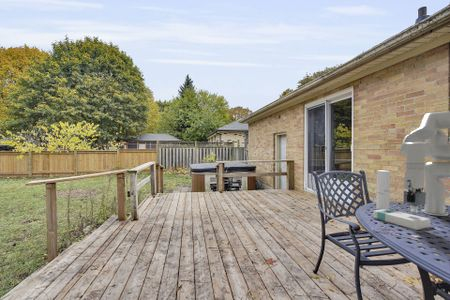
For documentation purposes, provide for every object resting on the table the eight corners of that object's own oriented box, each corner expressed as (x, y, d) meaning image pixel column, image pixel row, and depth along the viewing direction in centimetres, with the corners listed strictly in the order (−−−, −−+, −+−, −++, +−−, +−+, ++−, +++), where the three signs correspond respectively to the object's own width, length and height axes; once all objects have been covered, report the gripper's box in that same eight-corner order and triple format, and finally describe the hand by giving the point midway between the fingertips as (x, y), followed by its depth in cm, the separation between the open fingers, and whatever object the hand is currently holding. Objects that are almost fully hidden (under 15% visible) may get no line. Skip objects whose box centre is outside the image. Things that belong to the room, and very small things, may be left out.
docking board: (373, 217, 141) (373, 210, 141) (386, 215, 146) (386, 208, 146) (416, 229, 121) (416, 221, 121) (430, 226, 126) (430, 218, 126)
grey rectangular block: (410, 209, 132) (410, 190, 132) (425, 213, 126) (425, 192, 125) (403, 211, 130) (403, 191, 129) (418, 214, 123) (418, 193, 123)
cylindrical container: (391, 211, 156) (392, 171, 155) (378, 210, 157) (379, 171, 157) (386, 208, 163) (387, 170, 162) (374, 207, 164) (375, 170, 164)
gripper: (416, 165, 134) (415, 198, 135) (397, 166, 127) (396, 201, 127) (433, 166, 127) (432, 201, 128) (413, 168, 120) (412, 204, 120)
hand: (414, 201), depth 127 cm, fingers closed on grey rectangular block, 6 cm apart
